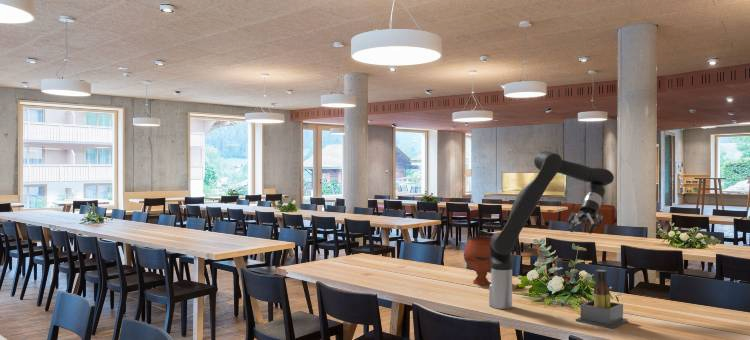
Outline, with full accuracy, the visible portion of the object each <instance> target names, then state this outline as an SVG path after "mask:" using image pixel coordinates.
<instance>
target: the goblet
mask: <svg viewBox="0 0 750 340" xmlns="http://www.w3.org/2000/svg"><path fill="white" fill-rule="evenodd" d="M491 238H492V236H487V235H477V236H469V237H468V240H467V242H466V244H465V247H464V250H463V261H464V262H465V263H466V265H467V266H468V267H469V268H470V269H471V270H473V271H474V272H475V273H476V277H475V278H474V280H473V281H472V283H473V284H475V285H490V281H489V279H488V278H487V275H488V273H490V271H491V261H490V240H491Z"/></svg>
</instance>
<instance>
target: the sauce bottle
mask: <svg viewBox="0 0 750 340" xmlns="http://www.w3.org/2000/svg"><path fill="white" fill-rule="evenodd" d="M595 275H596V280H595V283H594V287H593V299H594V306H595V307H601V308H607V309H610V308H611V306H610V302H611V292H610V290H611V289H610V285H609V283H608V281H607V270H605V269H596V270H595Z"/></svg>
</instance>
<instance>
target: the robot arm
mask: <svg viewBox="0 0 750 340" xmlns="http://www.w3.org/2000/svg"><path fill="white" fill-rule="evenodd" d="M533 163H534V166H535V167H536V169H538V170H539V172H538V173H537V174H536V176H535V177H534V178H533V179H532V181H531V182H530V183H528V184H527V185H526V186H524V188H522V189H521V190H520V191H519V193H518V195H517V196H516V198H515V200H514V201H513V203H512V205H511V208H510V211H509V216H508V218H507V222H506V223H505V225H504V226H503V228H502V230H501V231H500V232H495V233H494V234H493V235H492V236H491V237H492V238H491V240H490V261H491V272H490V276H491V277H490V278H491V279H490V281H491V282H490V283H489V284H488V287H489V288H488V289H489V290H488V295H489V296H488V306H490V307H491V308H494V309H499V310H500V309H501V310H503V309H504V310H507V309H511V308H513V262H512V259H511V252H512V251H513V249H514V247H515V246H516V243H517V240H518V238H519V236H520V233H521V232H522V230H523V228H524V226H526V223H527V222H528V220H529V219H530V217H531V216H532V214H533V212H534V211H535V209H536V207H537V206H538V203H539V202H540V200H541V198H542V196H543V195H544V193H545V191H546V189H547V188H548V186H549V185H550V184H551V182H552V180H553V179H554V178H555V177H556V175H558V174H562V175H564V176H567V177H570V178H573V179H576V180H579V181H581V182H582V181H583V182H586V183H589V184H588V188H589V189H587V190H588V191H587V193H586V195H585V197H584V198H583V201H582V203H581V206H580V208H579V211H578V212H575V211H571V212H570V214H569V217H568V218H567V223H568V225H569V227H568V230H569V232H570V233H573V232H574V230H575V227H576V226H577V225H580V224H581V223H586V224H589V223H590V225H589V228H588V229H587V231H588V233H589V235H592V234H593V233H594V231H595V228H597V227H598V228H600V227H601V226H602V223H603V219H604V217H603V214H602V212H600V213H599V211H600V208H601V206H602V202H603V198H604V196H605V192H606V191H605V188H604V187H605V186H608V185H611V184H612V183H613V181H614V179H615V178H614V177H615V176H614V174H613V173H612V172H611V170H609V169H606V168H603V167H602V168H599V167H590V166H588V165H584V164H581V163H576V162H572V161H568V160H564V159H562V157H561V155H560V154H558V153H555V152H550V151H547V150H544V151H540V152H538V153H537V154H535V157H534V160H533ZM594 220H596V221H594Z"/></svg>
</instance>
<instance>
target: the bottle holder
mask: <svg viewBox="0 0 750 340" xmlns="http://www.w3.org/2000/svg"><path fill="white" fill-rule="evenodd" d="M610 306H611V308H610V309H607V308H601V307H595V306H594V298H593V299H591V300H589V301H586V302H584V303H581V304H580V317H576V318H575V322H577V323H583V324H587V325H592V326H598V327H601V328H602V327H603V328H606V329H607V328H608V329H616V328H618V327H620V326H622V325H623V324H625V323H627V322H628V320H629V318H624V304H623V303H620V302H619V303H618V302H612V301H610Z"/></svg>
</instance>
